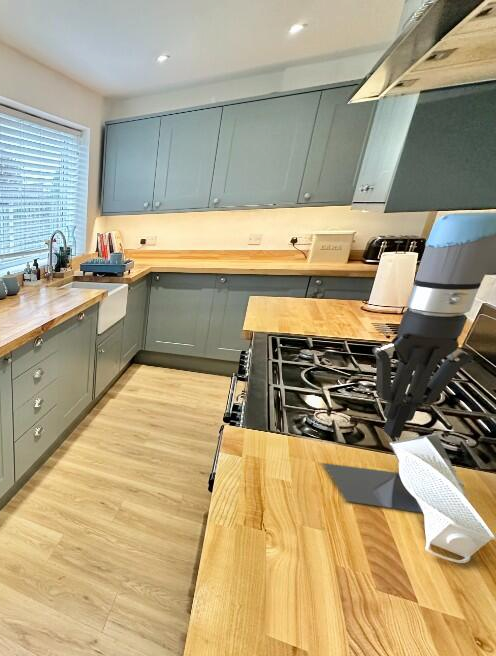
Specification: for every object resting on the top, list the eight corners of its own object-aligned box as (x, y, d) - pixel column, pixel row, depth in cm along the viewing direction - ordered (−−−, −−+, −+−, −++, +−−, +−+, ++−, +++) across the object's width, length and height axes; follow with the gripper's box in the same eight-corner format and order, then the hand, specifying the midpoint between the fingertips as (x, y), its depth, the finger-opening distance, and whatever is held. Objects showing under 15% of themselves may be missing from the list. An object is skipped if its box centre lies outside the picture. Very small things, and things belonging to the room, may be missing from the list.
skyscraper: (393, 471, 86) (439, 576, 65) (377, 439, 85) (418, 535, 64) (451, 463, 80) (520, 574, 59) (434, 428, 80) (499, 528, 58)
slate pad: (401, 474, 84) (401, 473, 84) (438, 515, 73) (439, 514, 73) (323, 464, 88) (323, 463, 88) (347, 502, 77) (347, 501, 77)
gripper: (397, 315, 69) (357, 439, 78) (504, 318, 64) (448, 448, 73) (376, 306, 75) (341, 421, 84) (472, 307, 71) (424, 429, 80)
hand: (391, 433), depth 79 cm, fingers closed
